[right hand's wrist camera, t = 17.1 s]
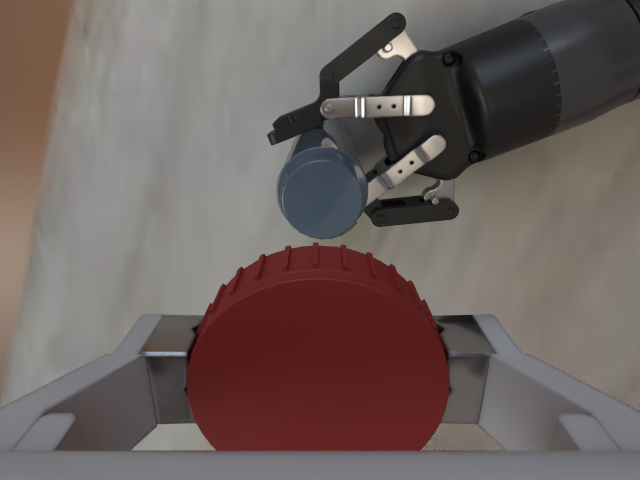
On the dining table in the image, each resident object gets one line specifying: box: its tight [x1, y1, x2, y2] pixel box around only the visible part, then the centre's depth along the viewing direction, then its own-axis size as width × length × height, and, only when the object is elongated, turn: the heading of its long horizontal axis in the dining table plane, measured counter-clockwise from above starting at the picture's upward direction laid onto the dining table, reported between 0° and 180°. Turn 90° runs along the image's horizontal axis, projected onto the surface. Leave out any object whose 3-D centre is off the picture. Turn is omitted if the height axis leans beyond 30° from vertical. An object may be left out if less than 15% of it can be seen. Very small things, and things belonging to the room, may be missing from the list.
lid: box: [187, 243, 450, 451], centre depth 9 cm, size 5×5×2 cm
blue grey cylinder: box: [276, 118, 368, 239], centre depth 28 cm, size 5×5×16 cm
